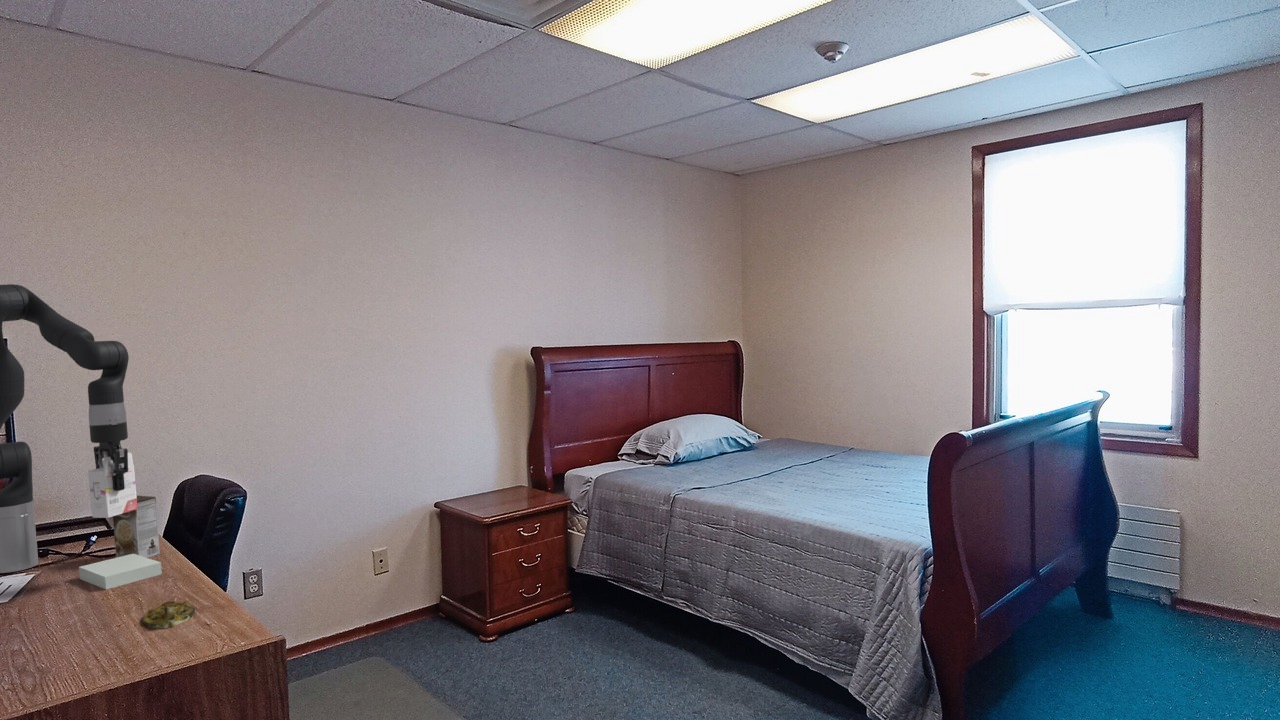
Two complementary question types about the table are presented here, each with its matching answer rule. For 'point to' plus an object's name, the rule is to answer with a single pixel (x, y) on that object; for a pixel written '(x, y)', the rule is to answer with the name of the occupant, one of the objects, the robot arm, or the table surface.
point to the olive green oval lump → (168, 614)
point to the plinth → (120, 571)
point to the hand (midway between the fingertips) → (113, 488)
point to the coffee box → (137, 529)
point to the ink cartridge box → (112, 491)
